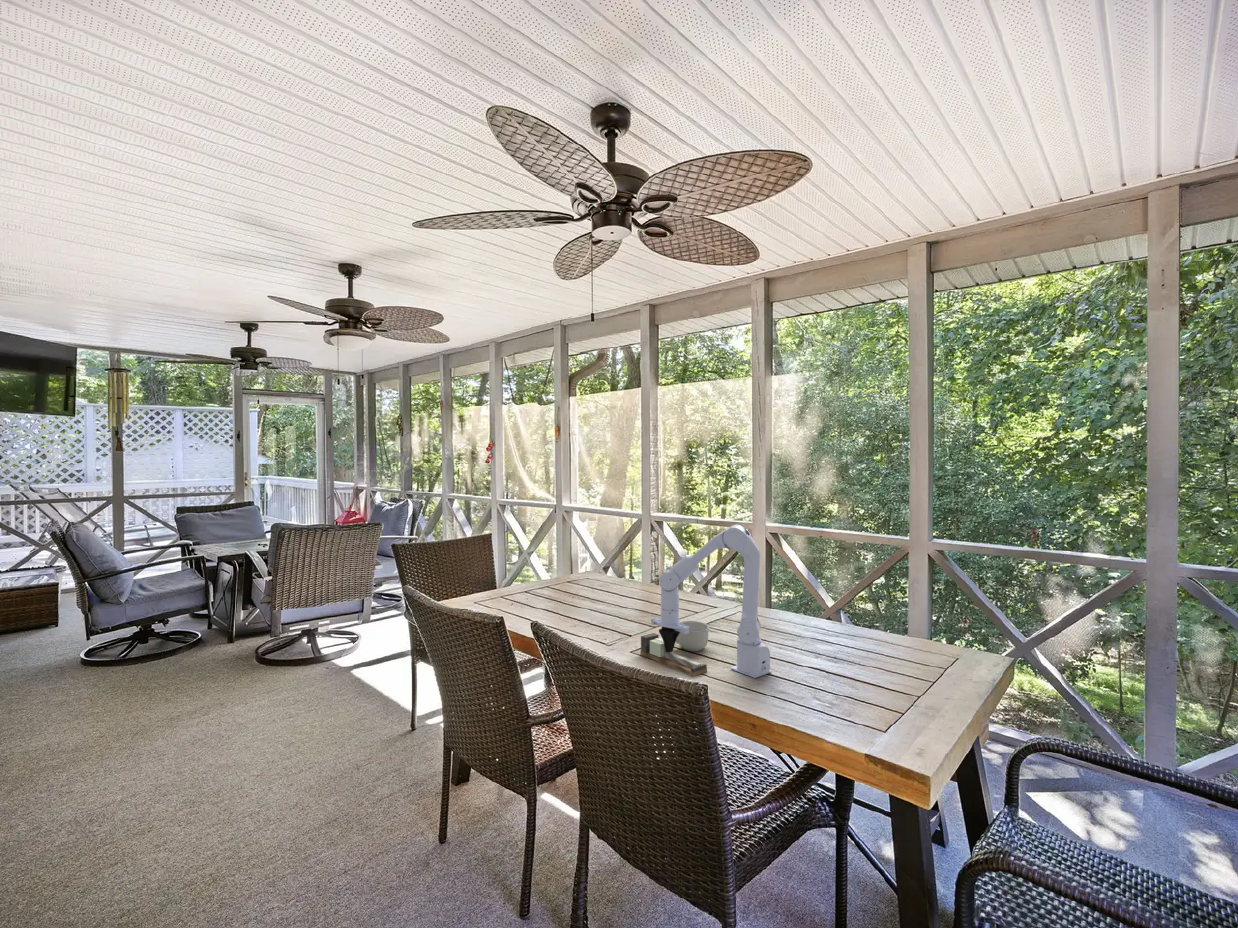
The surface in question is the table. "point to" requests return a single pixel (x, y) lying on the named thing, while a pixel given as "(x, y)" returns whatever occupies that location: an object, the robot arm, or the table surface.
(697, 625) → the teacup
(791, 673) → the table surface
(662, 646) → the carriage
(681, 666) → the rail
